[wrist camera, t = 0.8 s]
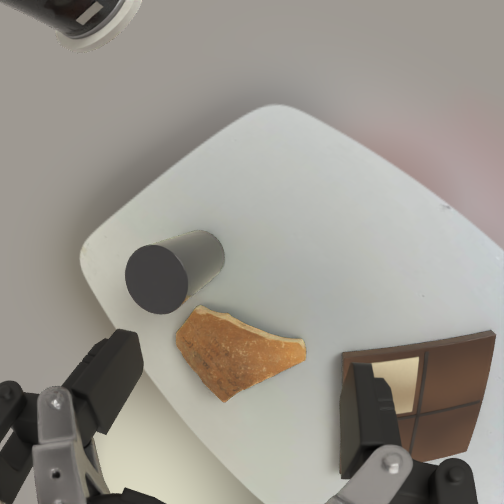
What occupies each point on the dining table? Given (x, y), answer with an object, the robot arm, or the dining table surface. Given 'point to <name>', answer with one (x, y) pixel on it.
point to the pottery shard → (234, 352)
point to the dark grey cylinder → (173, 270)
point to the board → (433, 390)
